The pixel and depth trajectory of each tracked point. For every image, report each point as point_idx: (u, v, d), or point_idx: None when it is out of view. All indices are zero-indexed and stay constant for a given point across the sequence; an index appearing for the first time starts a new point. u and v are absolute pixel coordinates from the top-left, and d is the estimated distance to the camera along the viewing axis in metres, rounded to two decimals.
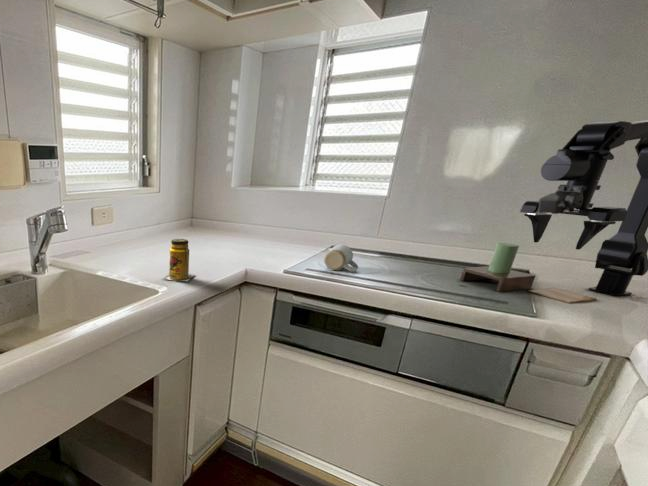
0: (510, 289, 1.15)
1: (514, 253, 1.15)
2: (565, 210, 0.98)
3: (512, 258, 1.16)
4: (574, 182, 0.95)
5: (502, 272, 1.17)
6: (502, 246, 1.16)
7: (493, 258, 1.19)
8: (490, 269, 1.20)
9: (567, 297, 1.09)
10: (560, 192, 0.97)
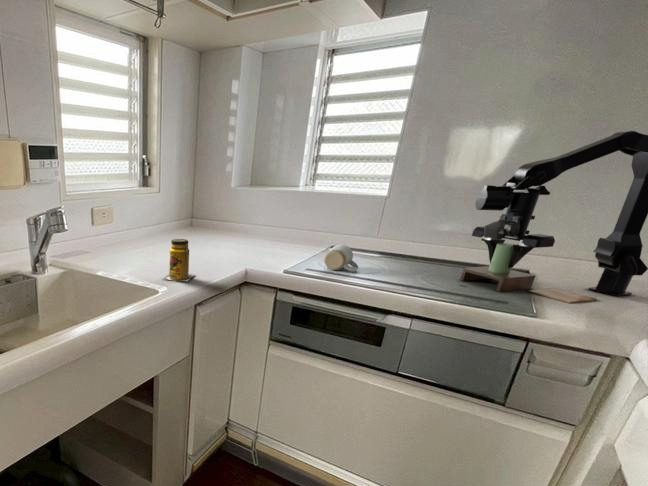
0: (510, 289, 1.15)
1: None
2: (506, 236, 1.15)
3: None
4: (512, 213, 1.12)
5: (502, 272, 1.17)
6: (502, 246, 1.16)
7: (493, 258, 1.19)
8: (490, 269, 1.20)
9: (567, 297, 1.09)
10: (502, 221, 1.14)
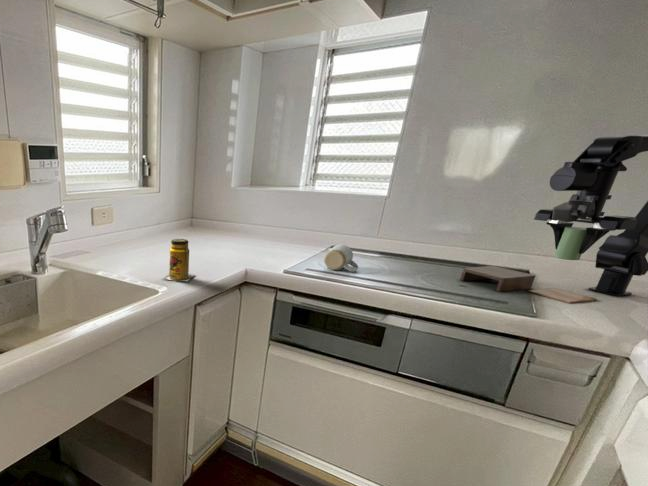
0: (510, 289, 1.15)
1: None
2: (578, 218, 1.04)
3: None
4: (586, 192, 1.01)
5: (571, 258, 1.06)
6: (572, 230, 1.05)
7: (561, 243, 1.08)
8: (557, 255, 1.09)
9: (567, 297, 1.09)
10: (573, 201, 1.03)
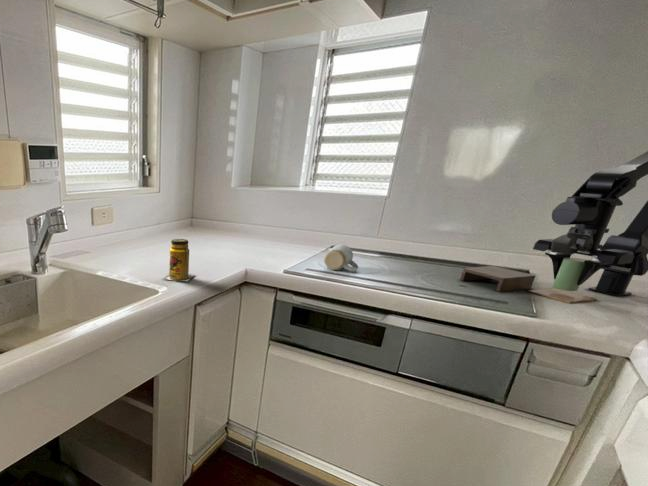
0: (510, 289, 1.15)
1: None
2: None
3: None
4: (584, 226, 1.03)
5: (570, 289, 1.08)
6: (571, 261, 1.06)
7: (559, 274, 1.09)
8: (555, 286, 1.10)
9: (567, 297, 1.09)
10: (571, 234, 1.05)
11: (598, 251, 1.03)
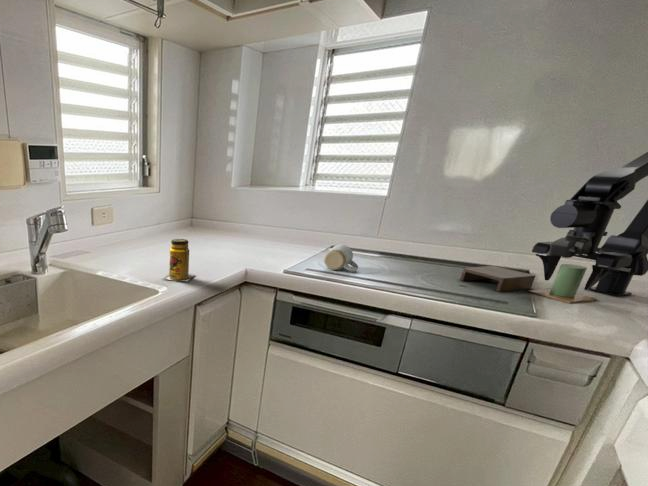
0: (510, 289, 1.15)
1: (581, 275, 1.07)
2: None
3: (579, 281, 1.07)
4: (583, 229, 1.03)
5: (567, 296, 1.09)
6: (568, 268, 1.07)
7: (557, 280, 1.10)
8: (553, 292, 1.11)
9: (567, 297, 1.09)
10: (570, 237, 1.05)
11: (596, 254, 1.03)
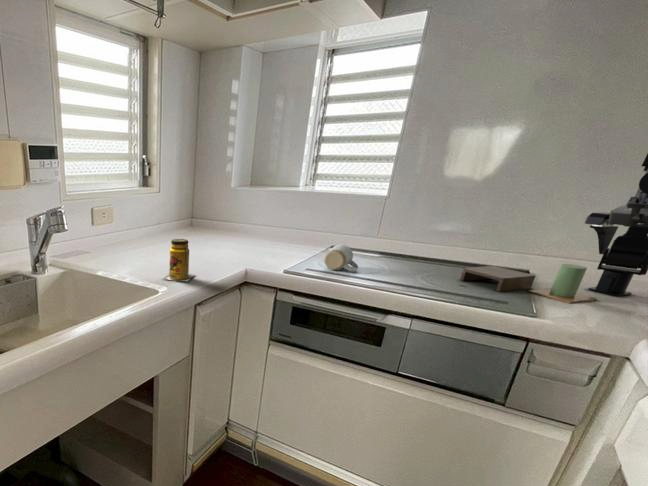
0: (510, 289, 1.15)
1: (581, 275, 1.07)
2: None
3: (579, 281, 1.07)
4: (647, 195, 0.94)
5: (567, 296, 1.09)
6: (568, 268, 1.07)
7: (557, 280, 1.10)
8: (553, 292, 1.11)
9: (567, 297, 1.09)
10: (632, 204, 0.96)
11: None
